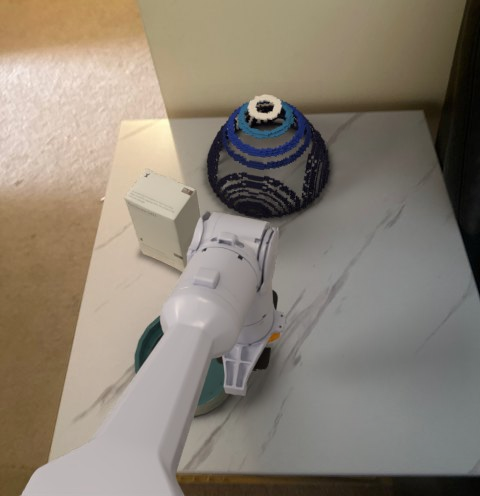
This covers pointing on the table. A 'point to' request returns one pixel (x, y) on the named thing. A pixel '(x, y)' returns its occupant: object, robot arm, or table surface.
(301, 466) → the table surface
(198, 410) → the glazed bowl
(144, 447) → the robot arm
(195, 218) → the cosmetic box
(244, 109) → the decorative bowl
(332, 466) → the table surface
